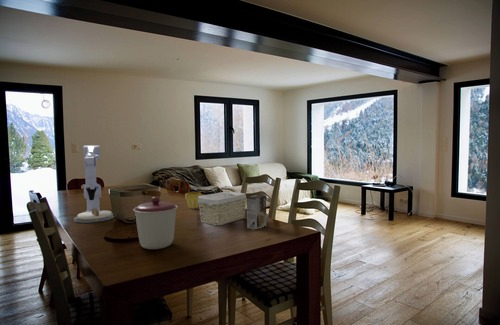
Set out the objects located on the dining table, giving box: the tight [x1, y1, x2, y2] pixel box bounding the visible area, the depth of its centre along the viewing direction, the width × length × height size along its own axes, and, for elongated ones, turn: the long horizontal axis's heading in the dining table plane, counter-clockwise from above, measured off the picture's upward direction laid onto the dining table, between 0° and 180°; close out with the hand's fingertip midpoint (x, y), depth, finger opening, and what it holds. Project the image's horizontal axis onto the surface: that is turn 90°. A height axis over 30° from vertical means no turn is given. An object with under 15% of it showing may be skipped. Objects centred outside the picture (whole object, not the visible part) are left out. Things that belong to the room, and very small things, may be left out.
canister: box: [133, 196, 179, 250], centre depth 140 cm, size 18×18×21 cm
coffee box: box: [246, 194, 267, 230], centre depth 169 cm, size 9×6×16 cm
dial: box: [76, 208, 112, 220], centre depth 192 cm, size 18×18×4 cm
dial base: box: [73, 212, 115, 224], centre depth 192 cm, size 22×22×2 cm
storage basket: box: [198, 191, 247, 226], centre depth 184 cm, size 24×16×15 cm
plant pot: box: [184, 192, 202, 210], centre depth 221 cm, size 10×10×10 cm
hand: (91, 200), depth 195 cm, fingers closed
